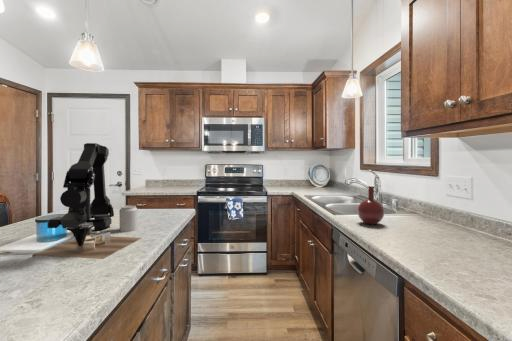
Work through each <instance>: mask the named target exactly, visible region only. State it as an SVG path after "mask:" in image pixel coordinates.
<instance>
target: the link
mask: <svg viewBox="0 0 512 341" xmlns="http://www.w3.org/2000/svg"><path fill="white" fill-rule="evenodd" d="M100 232H101V231H92V234H95V233H100ZM99 240H100V236H99V237H94V238H92V237H90V235H87V236H86V238H85V240H84V244H83V251H91V250H94V248H95V243H96V241H99Z"/></svg>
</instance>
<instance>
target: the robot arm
mask: <svg viewBox="0 0 512 341" xmlns="http://www.w3.org/2000/svg"><path fill="white" fill-rule="evenodd" d="M81 152H82V153H81V154H80V156H79V159H78V161H77V162H76V163H74V164H72V165H71V166H70V167H69V169H68V170H67V171H66V174H65V177H64V181H63V186H62V187H63V188H64V189H67V190H65V191H64V192H63V193H62V194H61V195H60V197H59V198H60V203H61V204H62V205H63V206H64V207H67V208H68V212H67V213H65V214H64V215H63V216H57V217H53V218H50V219H49V220H48V221H47V222H46V223H47V224H46V225H47V227H46V228H47V229H57V228H58V227H60V226H61V228H62V229H65V230H66V231H70V232H71V234H72V235H73V237H74V239H76V241H77V243H78V245H79V246H82V245H83V243H84V240H85V238H86V236H87V234H88V232H89V231H90V229H92V228H93V229H92V232H98V231H100V232H103V231H106V230H107V229H110V228H111V225H112V218H113V217H114V216H115V212H114V207H113V205H112V204H111V199H110V198H109V197H108V196H107V194H106V192H107V191H106V190H107V189H106V181H105V180H106V177H105V163H106V162H107V161H108V158H109V154H110V153H109V152H110V151H109V148H108V147H106V146H105V145H101V144H99V143H95V142H87V143H84V144H83V150H82V151H81ZM92 186H93V194H94V198H93V200H91V187H92Z"/></svg>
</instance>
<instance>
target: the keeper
mask: <svg viewBox="0 0 512 341" xmlns="http://www.w3.org/2000/svg"><path fill="white" fill-rule="evenodd" d="M99 236H102V243H103V244H108V243H110V236H111V231H109V230H107V231H106V230H104V231H100V233H95V234H90V237H92V238H94V237H99Z"/></svg>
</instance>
